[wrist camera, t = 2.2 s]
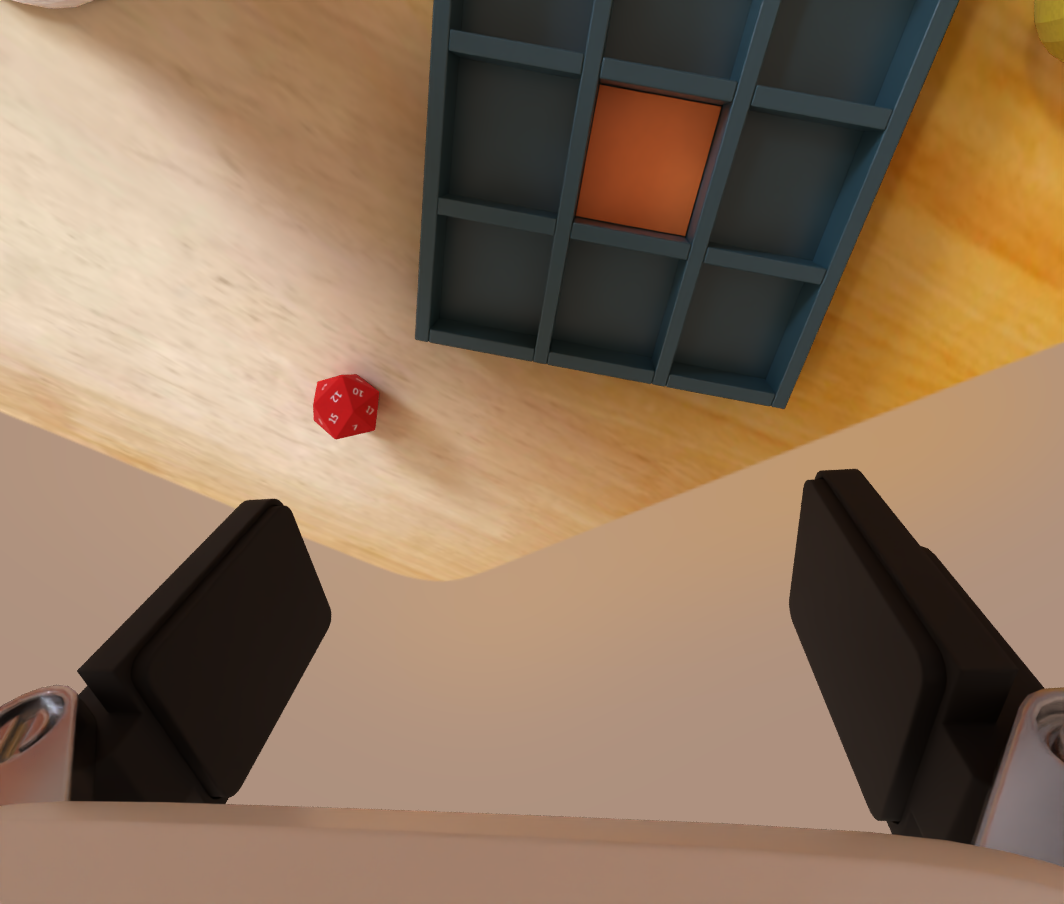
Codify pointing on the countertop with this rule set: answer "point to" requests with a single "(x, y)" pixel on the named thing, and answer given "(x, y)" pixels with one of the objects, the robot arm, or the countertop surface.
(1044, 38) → the lemon
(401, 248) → the countertop surface
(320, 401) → the die
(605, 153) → the grid
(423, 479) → the countertop surface
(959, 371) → the countertop surface
